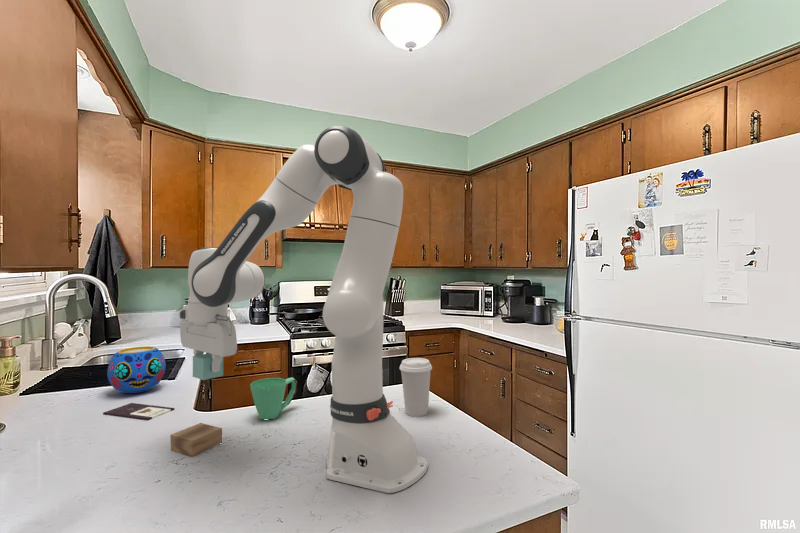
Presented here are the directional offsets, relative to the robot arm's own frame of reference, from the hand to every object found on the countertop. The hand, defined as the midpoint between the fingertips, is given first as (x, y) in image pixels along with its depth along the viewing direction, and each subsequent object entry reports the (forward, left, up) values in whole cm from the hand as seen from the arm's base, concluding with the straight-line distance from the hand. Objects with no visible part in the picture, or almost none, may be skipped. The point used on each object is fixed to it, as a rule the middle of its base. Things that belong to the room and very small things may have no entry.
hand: (207, 369), depth 99 cm
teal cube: (0, 0, -2) cm, 2 cm away
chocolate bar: (+40, 0, -19) cm, 44 cm away
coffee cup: (-32, -44, -18) cm, 58 cm away
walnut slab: (+1, +3, -19) cm, 19 cm away
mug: (+2, -21, -19) cm, 28 cm away
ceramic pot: (+64, -9, -19) cm, 67 cm away
